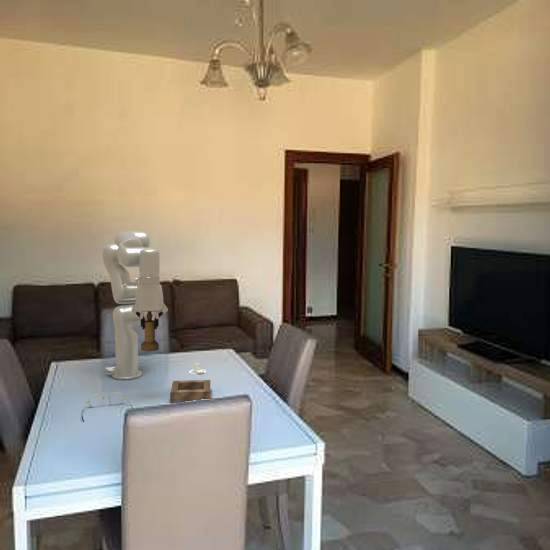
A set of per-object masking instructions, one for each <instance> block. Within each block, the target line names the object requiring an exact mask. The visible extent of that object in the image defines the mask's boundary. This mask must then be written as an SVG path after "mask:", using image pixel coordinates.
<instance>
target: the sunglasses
mask: <svg viewBox="0 0 550 550" xmlns="http://www.w3.org/2000/svg"><path fill="white" fill-rule="evenodd" d="M114 394H117V395H120V396H121V397H122V399H121V402H119V404H120V405H122V403H123V401H124V400H126V401H127V403H128V404H129V405H130V407H131V410H132V409H133V410H134V408H133V405H132V404H131V402H130V401H129V399H128V397H127V396H125V397H123V394H122V393H120V392H113V393H111V394H110V395H109V394H107V395H100V394H99V393H96V394H93V395H91V396H90V398H89V399H88V400H85V401H84V405H83V408H82V410H81V413H84V410H85V408H86V407H85V406H86V404H88V403H89V407H91V408H92V407H93V408H94V406H93V405H92V404H90V401H91V399H92V398H93V397H94V396H95V397H96V396H100V397H101V399H102V402H101V404H100V405H99V407H102V405H103V404H104V400H105V398H104V397H108V398H107V399H108V403H109V404H110V405H111V406H113V404H112V403H111V400H110V397H111V396H112V395H114ZM81 418H82V419H81V420H82V422H83V423H85V420H84V416H83V415H81Z"/></svg>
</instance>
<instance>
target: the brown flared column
mask: <svg viewBox="0 0 550 550" xmlns="http://www.w3.org/2000/svg"><path fill="white" fill-rule="evenodd" d="M151 312H152V311H148V314H147V315H146V316H147V321H145V322H144V323H145V329H144V341H143V342H142V343H141V344H140V350H141V351H142V352H155V351H158V350H159V348H160V344H159V342H157V340H156V329H154V320H152V316H153V315H152V314H151Z"/></svg>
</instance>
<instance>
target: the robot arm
mask: <svg viewBox="0 0 550 550" xmlns="http://www.w3.org/2000/svg"><path fill="white" fill-rule="evenodd" d="M150 244H151V239H150V235H149V234H148V233H147V232H146V231H143V230H123V231H120V232H119V233H117V234H116V235H115V237H114V243H110V244H107V245H104V247H103V248H102V255H101V256H102V262H103V265H104V267H105V269H106V271H107V273H108V276H109V279H110V285H111V291H112V297H113V300H114V302H115V303H116V304H118V305H117V306H116V307H115V308H114V309H113V312H112V319H113V324H114V336H115V337H114V338H115V339H114V340H115V342H114V343H115V344H114V345H115V347H114V348H115V366H105V372H107V373H111V375H112V376H111V377H112V379H115V380H120V381H121V380H123V381H124V380H135V379H138V378H140V377H142V376H143V375H142V371H141V370H139V336H138V334H137V332H136V331H135V330H134V328H133V327H139V326H140V327H141V328H142V330H145V323H144V322H145V321H147V316H146V315H147V314H148V311H152V312H151V314H152V315H153V316H152V320H154V329H155V330H157V329H158V327H159V326H160V325H159V324H160V323H159V319H160V318H161V316H163V315H164V314H166V313H167V312H169V309H168V307H167V306H166V304H165V302H164V293H163V287H162V284H160V282H161V281H160V279H161V278H160V275H161V274H160V269H161V268H160V266H161V265H160V250H158V249H157V248H156V249H155V248H153V247H150V246H151V245H150ZM131 267H132V268H136V267H137V268H138V269H139V270H138V271H139V273H138V276H139V277H135V278H134V281H132V280H131V276H130V272H129V271H128V269H127V268H131Z"/></svg>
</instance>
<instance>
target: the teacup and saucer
mask: <svg viewBox="0 0 550 550" xmlns="http://www.w3.org/2000/svg"><path fill="white" fill-rule="evenodd" d="M201 366H202V363H200V362H195V363H193V369H190V370H189V371H188V373H190V374H192V375H201V374H202V375H203V374H205V373H207V369H204V368H203V369H201V368H202V367H201ZM203 370H204V371H203ZM193 371H194V372H193Z"/></svg>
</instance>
